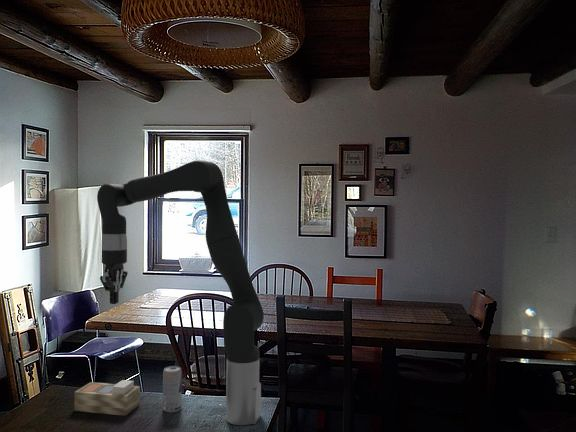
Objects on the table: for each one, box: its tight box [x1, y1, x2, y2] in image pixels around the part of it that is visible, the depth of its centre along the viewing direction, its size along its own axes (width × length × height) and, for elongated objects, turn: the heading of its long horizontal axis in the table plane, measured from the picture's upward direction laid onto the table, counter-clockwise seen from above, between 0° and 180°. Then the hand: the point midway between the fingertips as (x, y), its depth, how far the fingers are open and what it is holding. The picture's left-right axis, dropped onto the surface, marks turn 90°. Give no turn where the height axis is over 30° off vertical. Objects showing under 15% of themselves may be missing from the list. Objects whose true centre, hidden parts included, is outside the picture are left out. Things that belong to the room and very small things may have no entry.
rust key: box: [82, 384, 103, 392], centre depth 150 cm, size 4×6×3 cm, turn 169°
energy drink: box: [162, 365, 183, 413], centre depth 148 cm, size 5×5×12 cm
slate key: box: [97, 385, 113, 394], centre depth 149 cm, size 4×6×3 cm, turn 169°
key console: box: [74, 381, 141, 417], centre depth 149 cm, size 16×8×6 cm, turn 79°
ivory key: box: [113, 379, 135, 395], centre depth 148 cm, size 4×6×3 cm, turn 169°
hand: (114, 303), depth 157 cm, fingers closed
